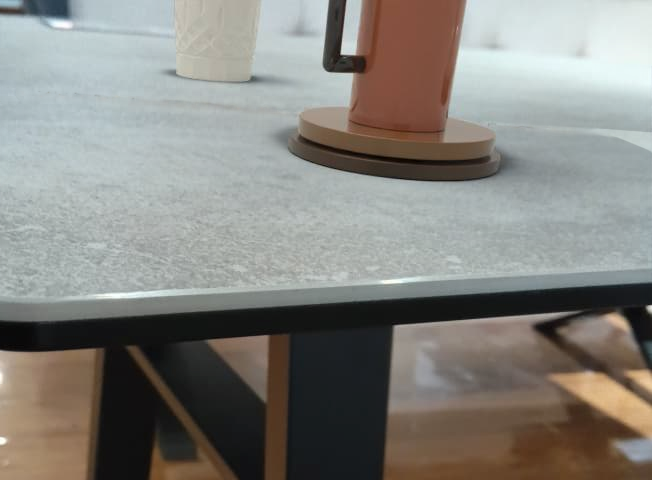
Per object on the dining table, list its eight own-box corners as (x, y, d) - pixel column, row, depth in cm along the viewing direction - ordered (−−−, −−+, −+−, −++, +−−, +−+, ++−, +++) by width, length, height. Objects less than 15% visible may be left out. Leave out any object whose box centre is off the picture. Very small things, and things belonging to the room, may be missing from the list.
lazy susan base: (462, 143, 62) (464, 131, 61) (529, 186, 50) (532, 172, 50) (277, 130, 60) (278, 118, 60) (302, 172, 48) (303, 158, 48)
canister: (422, 122, 62) (454, -91, 56) (534, 159, 52) (587, -95, 46) (266, 121, 57) (284, -113, 51) (358, 161, 47) (393, -122, 42)
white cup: (160, 75, 83) (163, -44, 78) (239, 78, 85) (246, -37, 81) (184, 87, 76) (189, -42, 72) (269, 90, 79) (278, -34, 74)
